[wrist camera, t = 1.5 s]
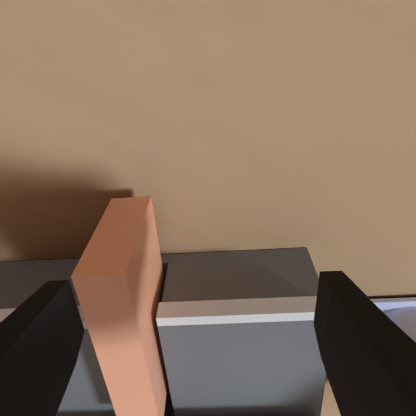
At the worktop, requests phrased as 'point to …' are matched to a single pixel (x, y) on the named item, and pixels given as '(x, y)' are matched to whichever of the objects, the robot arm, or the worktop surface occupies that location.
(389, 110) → the worktop surface
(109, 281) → the salmon pink slab
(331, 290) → the robot arm
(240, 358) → the dispenser
